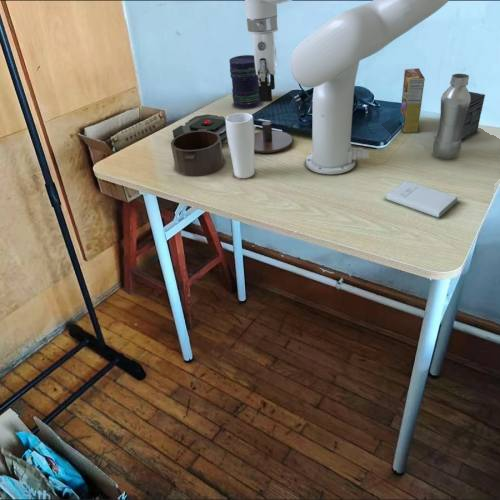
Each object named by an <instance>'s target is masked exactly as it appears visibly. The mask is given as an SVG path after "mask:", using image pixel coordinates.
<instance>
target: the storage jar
mask: <svg viewBox="0 0 500 500" xmlns="http://www.w3.org/2000/svg"><path fill="white" fill-rule="evenodd" d="M228 61H229V74H230V78H231V85H232V89H231V91H232V92H231V93H232V101H233V107H234V108H236V109H239V110H249V109H250V110H251V109H255V108H257V107H259V106H261V105H262V102H260V99H259V87H258V86H259V76H257V75H256V69H255V60H254V54H253V55H252V54H244V55H243V54H242V55H236V56H233V57H230V59H229V60H228Z"/></svg>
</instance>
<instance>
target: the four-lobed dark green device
mask: <svg viewBox="0 0 500 500" xmlns="http://www.w3.org/2000/svg"><path fill="white" fill-rule="evenodd" d="M225 119H226V117H225V116H223V115H220V116H219V115H217V114H216V115H215V114H208V113H207V114H201V115H196V116H194V117H192V118H191V119H189V120H188V121H186V122H184V125H179V126H177V127H176V128H174V129H172V131H171V132H172V137H173V139H174V138H175V137H177V136H179V135H181V134H184V133H187V132H192V131H198V129H207V131H211V132H215V133H217V134H219V136H220V138H221V144H224V143H225V142H226V141H228V139H227V133H226V122H225Z"/></svg>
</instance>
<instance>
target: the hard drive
mask: <svg viewBox="0 0 500 500" xmlns="http://www.w3.org/2000/svg"><path fill="white" fill-rule="evenodd" d="M458 199H459V198H458V196H456V195H453V194H449V193H447V192H444V191H440V190H437V189H434V188H430V187H427V186H425V185H421V184H418V183H415V182H412V181H408V180H404V181H402V182H401V183H399V184H398V185H397V186H395V187H394V188H393V189H391V190H390V191H389V192H388V193H386V197H385V200H388V201H390V202H394V203H396V204H399V205H401V206H405V207H407V208H410V209H413V210H415V211H419V212H422V213H425V214H427V215H430V216H431V217H432V216H433V217H435V218H441V217H442V216H443V215H444V214H446V213H447V211H448V210H450V209H451V208H452V207H453V206H455V205H456V203H457V202H458Z"/></svg>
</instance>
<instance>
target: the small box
mask: <svg viewBox="0 0 500 500" xmlns="http://www.w3.org/2000/svg"><path fill="white" fill-rule="evenodd" d="M469 93H470V97H471V101H470V104H469V107H468V110H467V112H466V115H465V119H464V122H463V127H462V135H461V142H462V141H464V140H465V139H467V138H469V137H471V136H472V135H475V134H476V133H478V132H479V125H480V121H481V115H482V111H483V107H484V102H485V97H486V94H485V93H480V92H479V93H478V92H473V91H469ZM439 123H440V120H439V122H438V124H439ZM438 128H439V126H438V127H437V129H438Z"/></svg>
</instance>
